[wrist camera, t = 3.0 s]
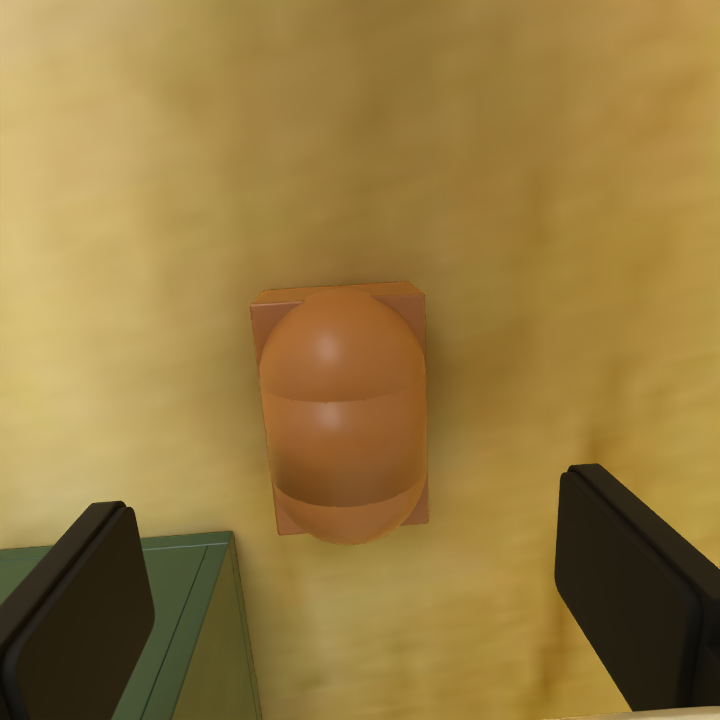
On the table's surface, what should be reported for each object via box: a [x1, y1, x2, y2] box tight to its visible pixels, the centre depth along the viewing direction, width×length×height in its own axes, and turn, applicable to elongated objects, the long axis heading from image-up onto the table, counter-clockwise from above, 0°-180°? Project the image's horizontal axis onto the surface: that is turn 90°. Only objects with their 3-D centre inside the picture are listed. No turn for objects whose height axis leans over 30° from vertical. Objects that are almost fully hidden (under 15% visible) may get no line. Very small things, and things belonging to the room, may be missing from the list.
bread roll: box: [250, 281, 429, 545], centre depth 15 cm, size 8×5×5 cm, turn 3°
